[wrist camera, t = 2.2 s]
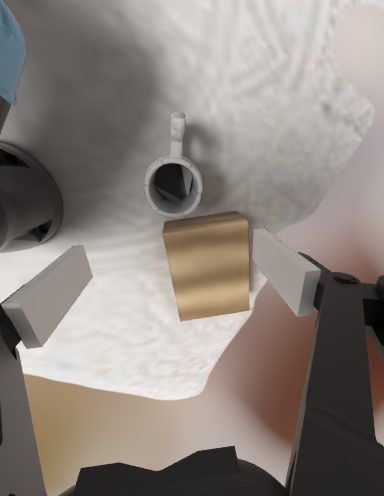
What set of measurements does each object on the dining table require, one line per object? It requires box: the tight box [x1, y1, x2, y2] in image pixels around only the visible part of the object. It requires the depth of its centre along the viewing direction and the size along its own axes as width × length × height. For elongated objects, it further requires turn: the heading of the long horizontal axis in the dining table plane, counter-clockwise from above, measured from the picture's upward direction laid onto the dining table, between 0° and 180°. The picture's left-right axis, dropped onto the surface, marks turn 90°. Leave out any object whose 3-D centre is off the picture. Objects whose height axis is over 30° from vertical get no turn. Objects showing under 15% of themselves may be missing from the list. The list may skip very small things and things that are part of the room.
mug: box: [144, 112, 203, 218], centre depth 24 cm, size 8×12×12 cm, turn 174°
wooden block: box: [163, 211, 249, 321], centre depth 33 cm, size 16×12×6 cm
